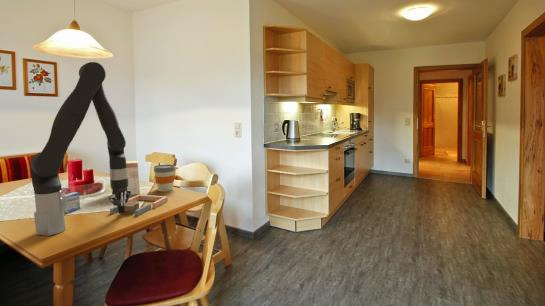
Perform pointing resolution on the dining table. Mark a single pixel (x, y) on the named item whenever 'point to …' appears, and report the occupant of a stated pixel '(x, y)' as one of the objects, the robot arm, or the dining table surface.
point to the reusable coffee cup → (164, 177)
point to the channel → (137, 212)
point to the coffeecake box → (132, 177)
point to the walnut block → (131, 207)
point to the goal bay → (150, 199)
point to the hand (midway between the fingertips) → (121, 213)
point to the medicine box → (71, 202)
